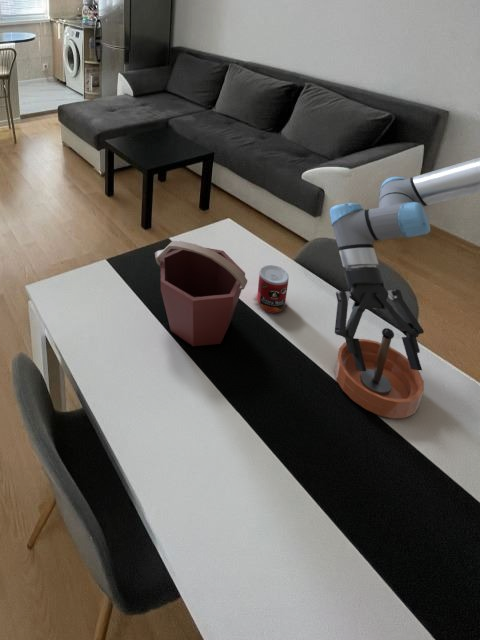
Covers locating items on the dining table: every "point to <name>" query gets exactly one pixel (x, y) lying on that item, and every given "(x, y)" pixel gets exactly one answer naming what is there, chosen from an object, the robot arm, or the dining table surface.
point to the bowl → (396, 369)
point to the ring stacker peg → (379, 368)
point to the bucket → (199, 291)
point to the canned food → (272, 288)
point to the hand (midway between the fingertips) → (388, 370)
